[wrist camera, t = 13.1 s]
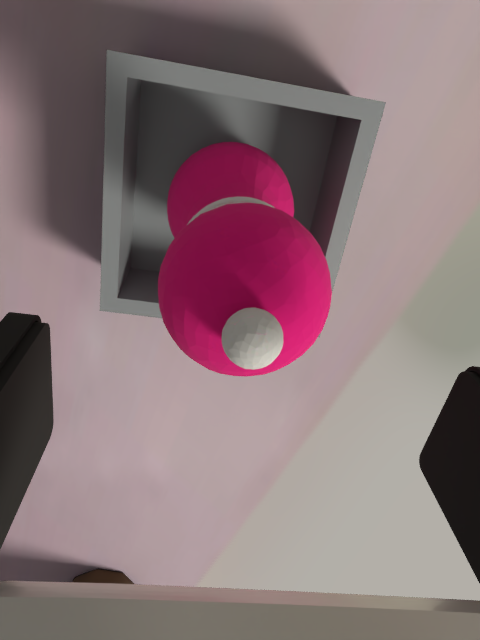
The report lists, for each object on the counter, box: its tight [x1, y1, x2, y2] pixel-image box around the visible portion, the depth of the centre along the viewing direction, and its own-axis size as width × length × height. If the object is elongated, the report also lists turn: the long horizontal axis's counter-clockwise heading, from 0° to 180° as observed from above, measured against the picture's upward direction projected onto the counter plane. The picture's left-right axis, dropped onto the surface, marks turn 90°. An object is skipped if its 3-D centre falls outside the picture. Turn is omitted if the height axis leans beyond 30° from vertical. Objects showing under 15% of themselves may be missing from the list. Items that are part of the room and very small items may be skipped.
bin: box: [100, 50, 386, 337], centre depth 28 cm, size 14×14×6 cm
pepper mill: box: [158, 142, 332, 376], centre depth 21 cm, size 7×7×20 cm
